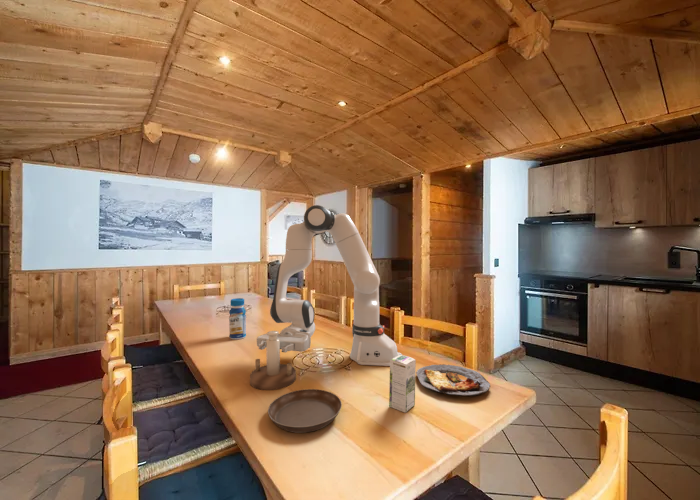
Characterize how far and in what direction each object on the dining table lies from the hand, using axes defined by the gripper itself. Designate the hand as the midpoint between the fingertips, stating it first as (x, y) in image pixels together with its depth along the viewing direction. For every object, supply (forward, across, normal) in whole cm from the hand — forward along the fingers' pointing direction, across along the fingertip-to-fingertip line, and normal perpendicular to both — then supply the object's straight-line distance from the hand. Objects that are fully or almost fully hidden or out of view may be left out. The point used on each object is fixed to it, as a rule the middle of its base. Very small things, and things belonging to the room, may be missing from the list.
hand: (271, 348), depth 111 cm
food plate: (-18, +61, +12) cm, 65 cm away
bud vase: (-1, 0, +9) cm, 9 cm away
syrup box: (+3, +47, +12) cm, 49 cm away
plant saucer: (+17, +22, +12) cm, 30 cm away
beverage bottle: (-39, -45, +12) cm, 61 cm away
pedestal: (-1, 0, +12) cm, 12 cm away
